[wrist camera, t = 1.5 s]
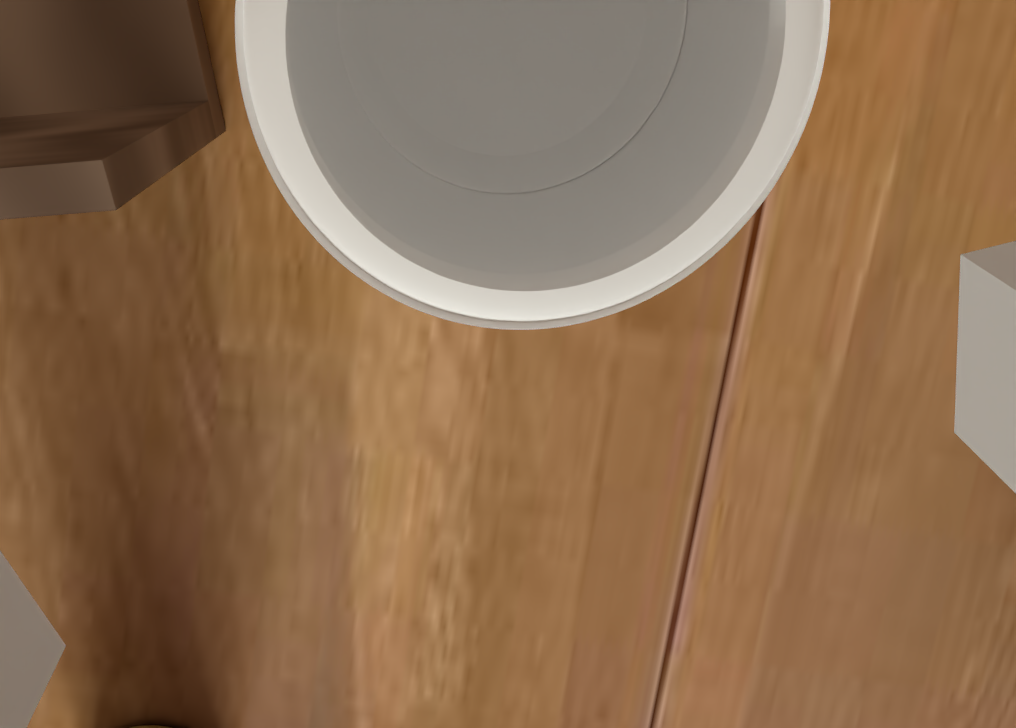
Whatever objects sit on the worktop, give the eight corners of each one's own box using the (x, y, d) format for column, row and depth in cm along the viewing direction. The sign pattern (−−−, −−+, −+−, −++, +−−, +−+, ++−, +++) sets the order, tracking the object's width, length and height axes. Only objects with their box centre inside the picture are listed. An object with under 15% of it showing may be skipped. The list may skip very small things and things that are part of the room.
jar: (503, 224, 31) (529, 427, 18) (280, 14, 28) (106, 68, 15) (725, 3, 28) (956, 47, 15) (505, -263, 25) (549, -519, 12)
